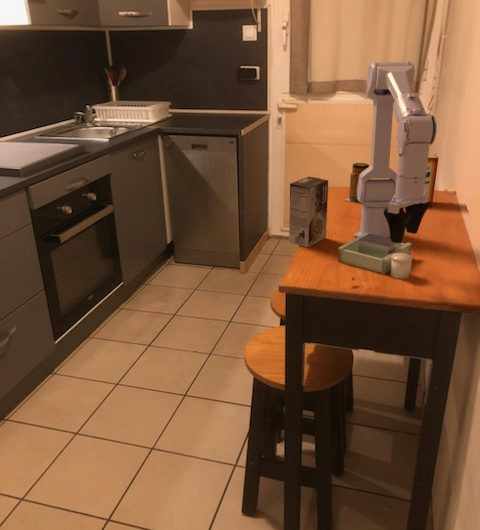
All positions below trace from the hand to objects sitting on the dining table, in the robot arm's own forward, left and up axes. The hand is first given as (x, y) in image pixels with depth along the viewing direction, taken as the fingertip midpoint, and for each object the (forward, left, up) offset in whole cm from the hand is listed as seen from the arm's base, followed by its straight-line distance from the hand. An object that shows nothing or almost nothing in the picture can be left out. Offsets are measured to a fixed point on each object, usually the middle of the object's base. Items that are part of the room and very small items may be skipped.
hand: (404, 237), depth 111 cm
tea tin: (-4, -8, -8) cm, 12 cm away
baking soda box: (-56, -21, -9) cm, 60 cm away
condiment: (-49, -37, -9) cm, 62 cm away
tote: (-5, -9, -9) cm, 13 cm away
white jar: (0, 0, -9) cm, 9 cm away
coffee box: (-6, -29, -9) cm, 31 cm away
